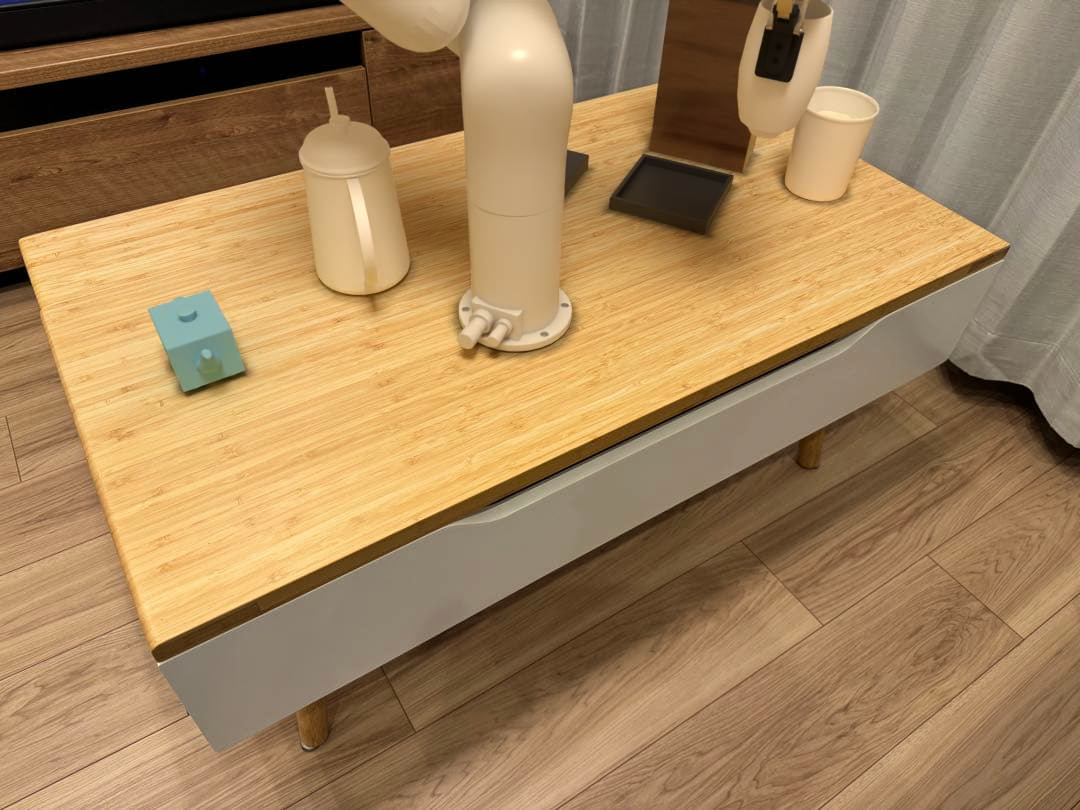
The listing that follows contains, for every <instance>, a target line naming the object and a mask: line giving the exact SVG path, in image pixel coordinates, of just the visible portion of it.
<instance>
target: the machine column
mask: <svg viewBox="0 0 1080 810" xmlns="http://www.w3.org/2000/svg"><path fill="white" fill-rule="evenodd" d="M760 2H761V0H668V6H667V14H666V15H667V16H666V19H665V20H666V21H665V28H664V36H663V44H662V52H661V58H660V66H659V71H658V73H659V74H658V81H657V88H656V96H655V102H654V110H653V118H652V125H651V131H650V132H651V133H650V141H649V148H648V151H649V152H653V153H657V154H661V155H665V156H669V157H672V158H673V157H674V158H678V159H681V160H686V161H691V162H695V163H699V164H703V165H707V166H711V167H716V168H719V169H723V170H724V169H725V170H729V171H732V172H737V173H740V174H742V173H744V171H745V169H746V167H747V165H748V163H749V161H750V160H751V158H752V156H753V153H754V148H755V145H756V140H757V138H758V137H757V136H754V135H753V134H752V133H751V132H750V130H749V129H748V127H747V126H746V125H745V124H744V123H742V122H741V120H740V118H739V110H738V98H737V91H738V76H739V66H740V62H741V58H742V54H743V51H744V47H745V43H746V39H747V35H748V32H749V30H750V27H751V24H752V22H753V19H754V16H755V14H756V11H757V8H758V6H759V3H760Z"/></svg>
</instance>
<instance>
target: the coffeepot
mask: <svg viewBox="0 0 1080 810" xmlns="http://www.w3.org/2000/svg"><path fill="white" fill-rule="evenodd" d="M324 92H325V95H326V100H327V105H328V109H329V110H328V111H329V115H330V117H329V119H328V122H327V123H325V124H321V125H319V126H317V127H315V128H314V129H313V130H311V131H310V132H308V133H307V135H306V136H305V138H304V139H303V143H302V146H301V147H300V148H299V150H298V158H299V162H300V164H301V166H302V171H303V180H304V187H305V194H306V203H307V210H308V211H307V212H308V220H309V225H310V234H311V242H312V250H313V258H314V265H315V272H316V274H317V276H318V278H319V279H320V281H321V282H322V283H323V284H324V285H325V286H327V287H328V288H330V289H331V290H333V291H336V292H338V293H342V294H345V295H352V296H364V295H365V296H366V295H372V294H376V293H380V292H383V291H386V290H388V289H390V288H393V287H394V286H396V285H397V284H398V283H400V282H401V281H402V280H403V278H404V277H406V275H407V273H408V271H409V269H410V265H411V257H410V252H409V247H408V242H407V237H406V232H405V226H404V223H403V216H402V213H401V208H400V203H399V198H398V193H397V188H396V184H395V178H394V173H393V167H392V164H391V158H390V157H391V146H390V144H389V142H388V141H387V139H385V138H384V137H383V135H381V132H379V130H377V129H376V128H375V127H373V126H372V125H369V124H367V123H364V122H359V121H353V120H351V117H349V116H348V115H345V114H339V110H338V106H337V101H336V97H335V93H334V89H333V86H328V87H324Z"/></svg>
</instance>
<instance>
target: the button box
mask: <svg viewBox="0 0 1080 810" xmlns="http://www.w3.org/2000/svg"><path fill="white" fill-rule="evenodd" d="M589 160H590V154H587V153H583V152H578V151H575V150H570V149H567V156H566V169H565V186H564V198H566V196H567V195H568V194H569V192H570V191H571V190H572V189H573V188H574V186H576V184H577V183H578V181H579V180H580V179H581V178H582V177H583V176H584V175H585V173H586V172H587V171H588V170H589V162H590V161H589Z"/></svg>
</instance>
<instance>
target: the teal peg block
mask: <svg viewBox="0 0 1080 810" xmlns="http://www.w3.org/2000/svg"><path fill="white" fill-rule="evenodd" d="M147 312H148V314H149V316H150V319H151V321H152V323H153V326H154V328H155V331H156V333H157V335H158V338H159V340H160V343H161V345H162V346H163V347H162V348H163V349H164V351H165V354H166V356H167V358H168V361H169V363H170V365H171V368H172V369H173V371H174V374H175V376H176V377H177V380H178V383H179V385H180V387H181V390H182V391H183V393H186V392H188V391H191V390H197V389H198V388H200V387H202V386H205V385H208V384H211V383H214V382H217V381H219V380H222V379H225V378H228V377H233V376H235V375H237V374H240V373H241V372H245V371H246V368H245V365H244V363H243V358H242V357H241V353H240V350H239V347H238V344H237V341H236V339H235V335H234V332H233V329H232V328H231V326H230V323H229V321H228V320H227V319H226V316H225V315H224V313H223V311H222V309H221V307H220V305H219V304H218V302H217V300H216V299H215V297H214V295H213V293H212V291H211V289H207V290H204V291H201V292H197V293H194V294H191V295H187V296H177V297H174V298H173V300H172V301H167V302H165V303H162V304H158V305H155V306H152V307H148V308H147Z"/></svg>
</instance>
